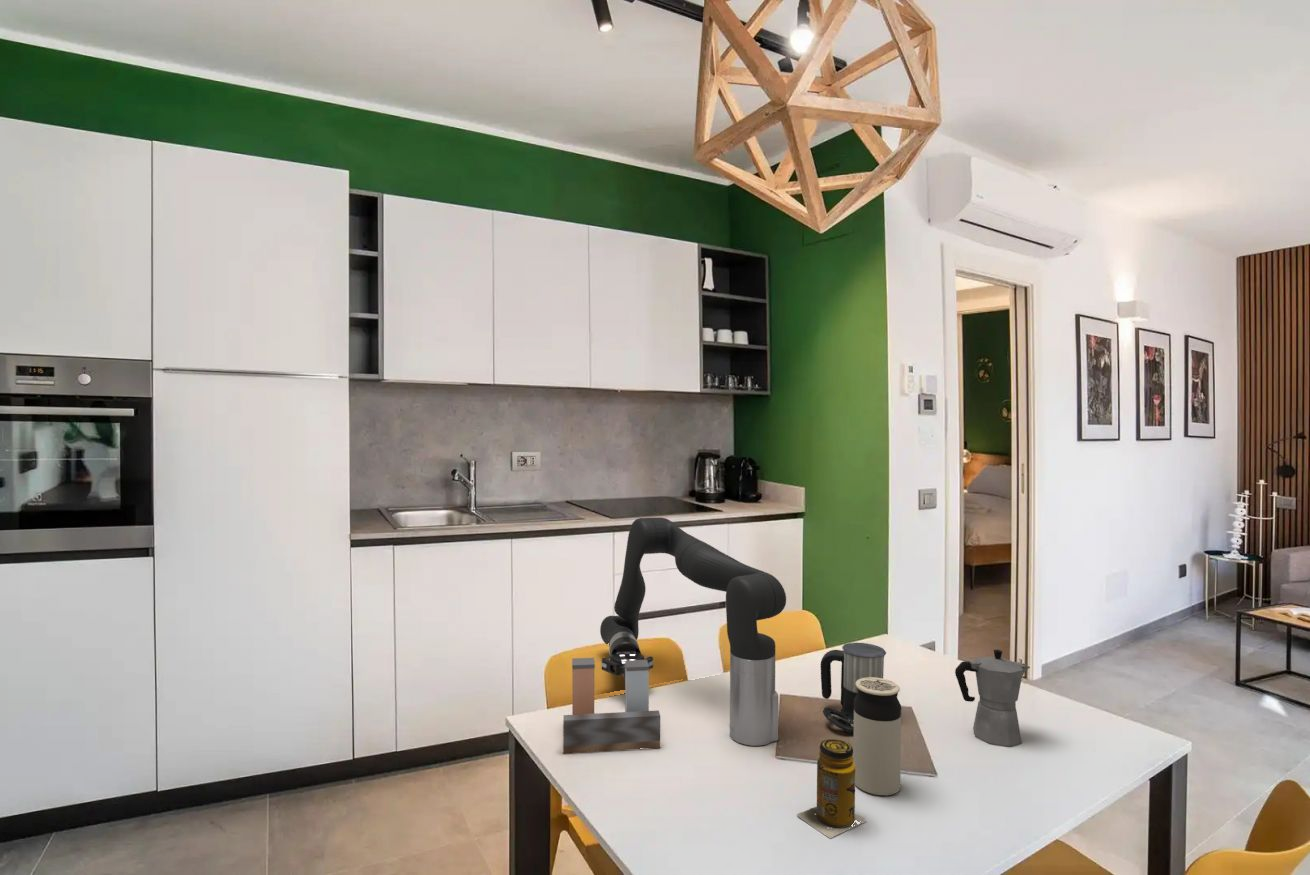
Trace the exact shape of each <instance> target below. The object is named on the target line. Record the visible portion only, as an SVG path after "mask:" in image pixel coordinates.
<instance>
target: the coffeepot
mask: <svg viewBox="0 0 1310 875" xmlns="http://www.w3.org/2000/svg"><path fill="white" fill-rule="evenodd" d="M993 655H994V657H991V656H981V657H976V658H973V660H968V661H961V662H960V663H959V664H958V665H957V667H956V668H955V669H954V670H955V671H954V674H955V675H954V676H955V677H956V680H957V683H958V686H959V689H960V693H961V696H962V699H963V700H964V701H965V702H970V703H971V702H975V699H976V697H975V696H970V694H969V687H968V685H967V682H966V675H965V673H966V671H967V672H968V671H969V672H973V673H974V672H975V678H976V686H977V691H978V693H977V694H978V695H979V700H978V701H977V707H976V711H975V717H974V722H973V726H972V729H973V734H974V737H975V738H977V739H979V741H982V742H985V743H987V744H989V745H993V746H999V747H1009V748H1010V747H1015V746H1018V745H1020V744H1022V736H1021V731H1020V730H1021V729H1020V725H1019V718H1018V717H1019V716H1018V710H1017V708H1016V702H1018V700H1019V694H1020V691H1021V690H1020V689H1021V684H1022V680H1023V679H1022V678H1023V676H1024V674H1025V673H1026V672H1027V670H1028V669H1030V668H1031V667H1030V666H1029V665H1027V664H1026V663H1022V662H1019V661H1018V662H1017V661H1012V660H1009V659H1006V658H1002V655H1003V651H1002V650H1000V649H993Z"/></svg>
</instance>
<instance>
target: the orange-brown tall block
mask: <svg viewBox="0 0 1310 875" xmlns="http://www.w3.org/2000/svg"><path fill="white" fill-rule="evenodd" d="M571 661H572V662H571V666H572V667H571V668H572V673H571V674H572V678H571V679H572V680H571V681H572V683H571V684H572V689H571V690H572V693H571V694H572V696H571V697H572V698H571V699H572V701H571V702H572V708H571V709H572V714H571V715H576V714H595V669H596V664H595V657H576V658H575V657H574V658H573V657H572V660H571Z"/></svg>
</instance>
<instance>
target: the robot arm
mask: <svg viewBox="0 0 1310 875" xmlns="http://www.w3.org/2000/svg"><path fill="white" fill-rule="evenodd" d="M627 535H628V537H627V541H626V549H625V556H624V564H623V573H622V579H621V582H620V586H619V589H618V592H617V596H616V599H615V601H614V607H613V609H614V613H615V614H616V615H617V616H616V615H609V616H606V617H605V618H604V619H603V620H602V621H601V624H600V627H599V628H600V629H599V630H600V631H599V633H600V638H601V640H602V641H603V643H604V644H606V645H607V644H608V643H609V646H608V651H609V658H605V657H604V658H603V657H602V658H601V670H602V671H604V672H607V673H609V674H612V675H614V676H617V677H618V676H620V675H622V676H623V679H624V680H625V660H647V662H648V665H649V671H650V670H652V669H653V668H654V656H652V655H650V656H647V657H645V656H644V655H643V654H642V653H641V649H640V647H639V643H638V638H639V633H640V632H639V616H640V610H641V608H642V605H643V602H644V599H645V596H646V590H647V588H646V582H645V578H644V576H643V574H642V569H641V562H642V559H643V557H644V555H651V554H654V555H655V554H666V555H670V556H673V557H674V562H675V566H676V569H677V570H678V571H679V573H680V574H681V575H682V576H684V577H685V578H687V579H688V580H690V581H691V582H693V583H695V584H696V585H698V586H700V587H704V588H706V589H710V590H715V591H720V592H724V593H725V611H726V612H725V614H726V615H725V617H726V633H727V639H728V642H729V649H730V650H729V657H730V659H729V736H730V738H731V739H732V740H733V741H735V742H737V743H739V744H741V745H746V746H754V747H755V746H756V747H757V746H765V745H768V744H771V743H772V742H778V741H779V693H778V692H777V691H776V641H775V640H774V639H773V638H772V637H771V636H769V635H767V634H764V633H760V632H758V621H762V620H766V619H771V618H774V617H776V616H778V615H780V614H781V613H782V612H783V610H784V609H785V607H786V604H787V595H786V594H787V593H786V592H785V591H786V590H785V588H784V586H783V584H782V583H781V582H780V581H779V580H778V578H776V577H775V576H774V575H773V574H771V573H769V572H767V571H764V570H760V569H757V568H755V567H752V566H750V565H747V564H745V563H742V562H741V561H740V560H737V559H735V558H733V557H731V556H730V555H728V554H726V553H725V552H723V551H721V550H719V549H718V548H716V547H714V546H712V545H710V544H709V543H706V542H705V541H702V540H701V539H699V538H697V537H695V536H693V535H691V534H689V533H688V532H686V531H684V530H683V529H682V528H680V527H679V526H678V525H677V524H676V523H674V522H673V521H672V520H670V519H668V518H665V517H640V518H637V519H635V520H634V521H633V522H632V523H631V526H630V529H629V531H628V534H627ZM777 740H778V741H777Z"/></svg>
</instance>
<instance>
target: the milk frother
mask: <svg viewBox="0 0 1310 875" xmlns="http://www.w3.org/2000/svg"><path fill="white" fill-rule="evenodd" d="M886 654H887V651H886V650H885V649H884V647H881V646H879V645H876V644H871V643H865V642H848V643H844V644H843V645H842V650H840V649H832V650H829V651H827V652H826V653H824V655H823V656H822V658H821V660H820V681H821V682H820V683H821V696H822V698H823V699H826V700H828V699H829V698H830V697H831V696H832V693H833V692H832V670H831V669H832V665H831V664H832V662H841V668H840V669H841V671H840V672H841V674H840V676H841V677H840V706H841V709H840V710H838V709H835V708H832V707H824V708H823V710H822V714H823V715H824V717H825V718H826V719H827V720H828V722H830V723H831V724H832V725H833V726H835V727H836V728H838V729H841V730H843V733H846V732H848V733H854V721H853V720H854V699H855V697H856V695H857V694H858V689H857V687H856V684H855V683H856V681H857V680H859V679H861V678H867V677H876V678H883V679H884V669H885V668H884V666H885V664H884V663H885V656H886Z"/></svg>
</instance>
